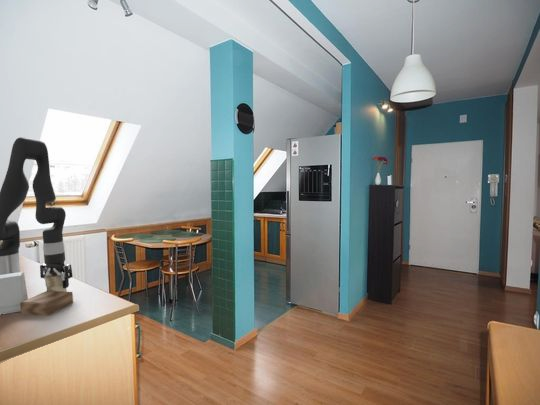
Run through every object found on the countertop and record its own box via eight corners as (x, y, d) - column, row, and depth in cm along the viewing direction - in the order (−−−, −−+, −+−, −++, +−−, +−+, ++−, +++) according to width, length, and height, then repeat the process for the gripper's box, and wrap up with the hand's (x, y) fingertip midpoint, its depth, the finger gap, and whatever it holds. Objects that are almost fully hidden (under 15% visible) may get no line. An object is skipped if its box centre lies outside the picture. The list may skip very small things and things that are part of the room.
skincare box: (29, 305, 123) (25, 270, 122) (24, 311, 118) (21, 275, 116) (3, 309, 119) (-1, 274, 118) (-3, 316, 114) (-7, 278, 113)
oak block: (47, 298, 130) (45, 276, 129) (57, 293, 135) (55, 272, 134) (57, 299, 129) (55, 276, 128) (67, 294, 134) (65, 273, 133)
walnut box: (21, 315, 115) (19, 302, 115) (48, 302, 127) (47, 290, 127) (48, 316, 114) (47, 303, 113) (73, 303, 125) (72, 291, 125)
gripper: (32, 253, 128) (36, 290, 130) (60, 254, 126) (64, 291, 127) (48, 249, 136) (51, 283, 137) (75, 250, 133) (78, 285, 134)
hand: (57, 287), depth 132 cm, fingers open, 8 cm apart
